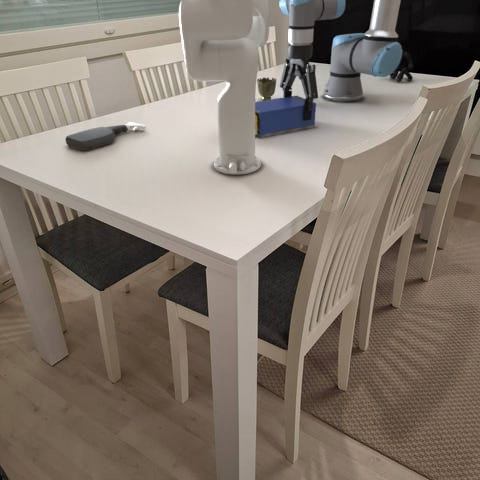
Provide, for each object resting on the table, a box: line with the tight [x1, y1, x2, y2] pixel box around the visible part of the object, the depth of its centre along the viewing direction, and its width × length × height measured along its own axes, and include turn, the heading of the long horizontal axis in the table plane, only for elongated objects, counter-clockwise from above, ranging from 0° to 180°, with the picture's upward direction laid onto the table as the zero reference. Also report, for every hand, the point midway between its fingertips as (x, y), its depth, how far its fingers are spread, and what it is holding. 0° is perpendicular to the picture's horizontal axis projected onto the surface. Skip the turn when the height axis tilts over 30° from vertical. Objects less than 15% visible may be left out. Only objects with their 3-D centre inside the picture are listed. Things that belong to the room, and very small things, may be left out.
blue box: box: [255, 95, 317, 138], centre depth 144 cm, size 20×11×8 cm, turn 117°
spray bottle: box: [64, 121, 147, 152], centre depth 139 cm, size 3×11×24 cm
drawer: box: [255, 113, 259, 136], centre depth 142 cm, size 24×10×6 cm, turn 117°
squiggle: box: [389, 51, 414, 83], centre depth 198 cm, size 11×10×15 cm
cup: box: [256, 77, 277, 101], centre depth 173 cm, size 8×7×8 cm
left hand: (238, 122), depth 140 cm, fingers closed
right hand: (296, 115), depth 147 cm, fingers closed on blue box, 11 cm apart
